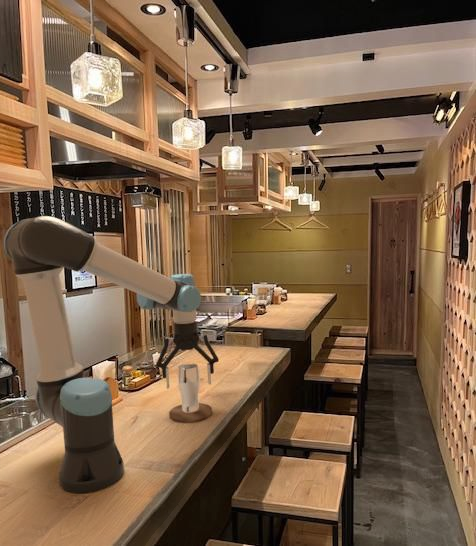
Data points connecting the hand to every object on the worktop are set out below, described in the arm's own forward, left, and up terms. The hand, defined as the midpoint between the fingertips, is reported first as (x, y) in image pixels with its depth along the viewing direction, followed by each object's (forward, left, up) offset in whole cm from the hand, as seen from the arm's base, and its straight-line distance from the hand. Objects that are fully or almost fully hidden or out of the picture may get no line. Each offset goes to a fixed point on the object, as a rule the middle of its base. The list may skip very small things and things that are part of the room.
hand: (189, 385), depth 147 cm
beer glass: (0, 0, -9) cm, 9 cm away
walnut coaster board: (0, 0, -10) cm, 10 cm away
